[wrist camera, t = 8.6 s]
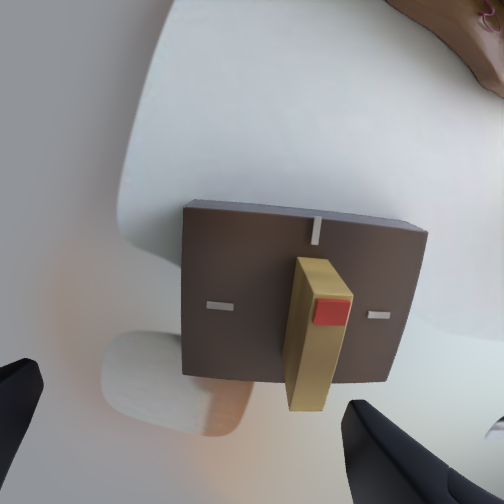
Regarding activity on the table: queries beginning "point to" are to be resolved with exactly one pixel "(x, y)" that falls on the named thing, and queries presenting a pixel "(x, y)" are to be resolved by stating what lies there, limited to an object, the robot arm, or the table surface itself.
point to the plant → (466, 33)
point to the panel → (290, 286)
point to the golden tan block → (314, 332)
